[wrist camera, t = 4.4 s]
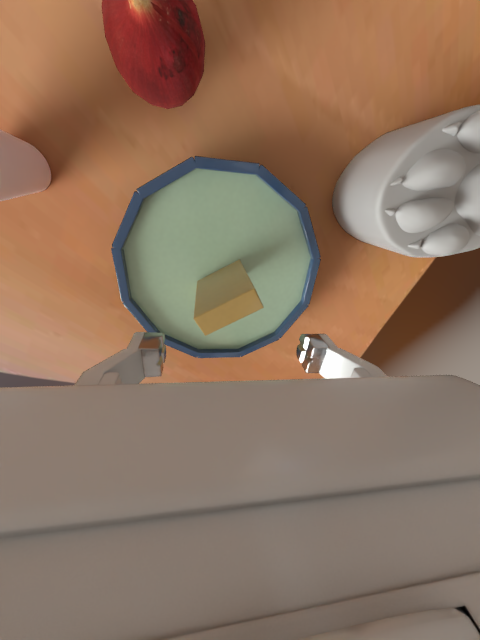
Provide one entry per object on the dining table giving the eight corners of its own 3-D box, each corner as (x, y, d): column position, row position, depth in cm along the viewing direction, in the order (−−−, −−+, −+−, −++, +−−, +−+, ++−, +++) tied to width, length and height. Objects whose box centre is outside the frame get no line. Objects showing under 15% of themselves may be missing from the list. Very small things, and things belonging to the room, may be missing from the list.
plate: (274, 110, 18) (324, 53, 10) (330, 307, 28) (376, 350, 20) (70, 230, 20) (-11, 253, 12) (190, 373, 30) (185, 432, 22)
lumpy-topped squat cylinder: (430, 237, 27) (517, 254, 19) (326, 248, 26) (375, 271, 18) (469, 123, 21) (609, 87, 14) (340, 132, 20) (416, 99, 13)
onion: (206, 25, 16) (207, -97, 9) (203, 127, 19) (201, 90, 12) (120, 1, 15) (50, -156, 8) (129, 113, 18) (82, 63, 11)
